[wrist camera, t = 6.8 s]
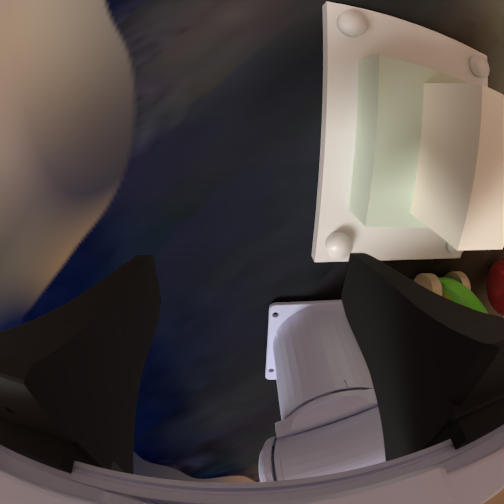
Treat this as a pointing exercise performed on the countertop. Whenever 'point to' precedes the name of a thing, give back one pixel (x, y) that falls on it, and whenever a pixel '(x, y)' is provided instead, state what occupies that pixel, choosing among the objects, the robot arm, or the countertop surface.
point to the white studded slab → (379, 132)
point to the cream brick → (462, 165)
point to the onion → (496, 286)
